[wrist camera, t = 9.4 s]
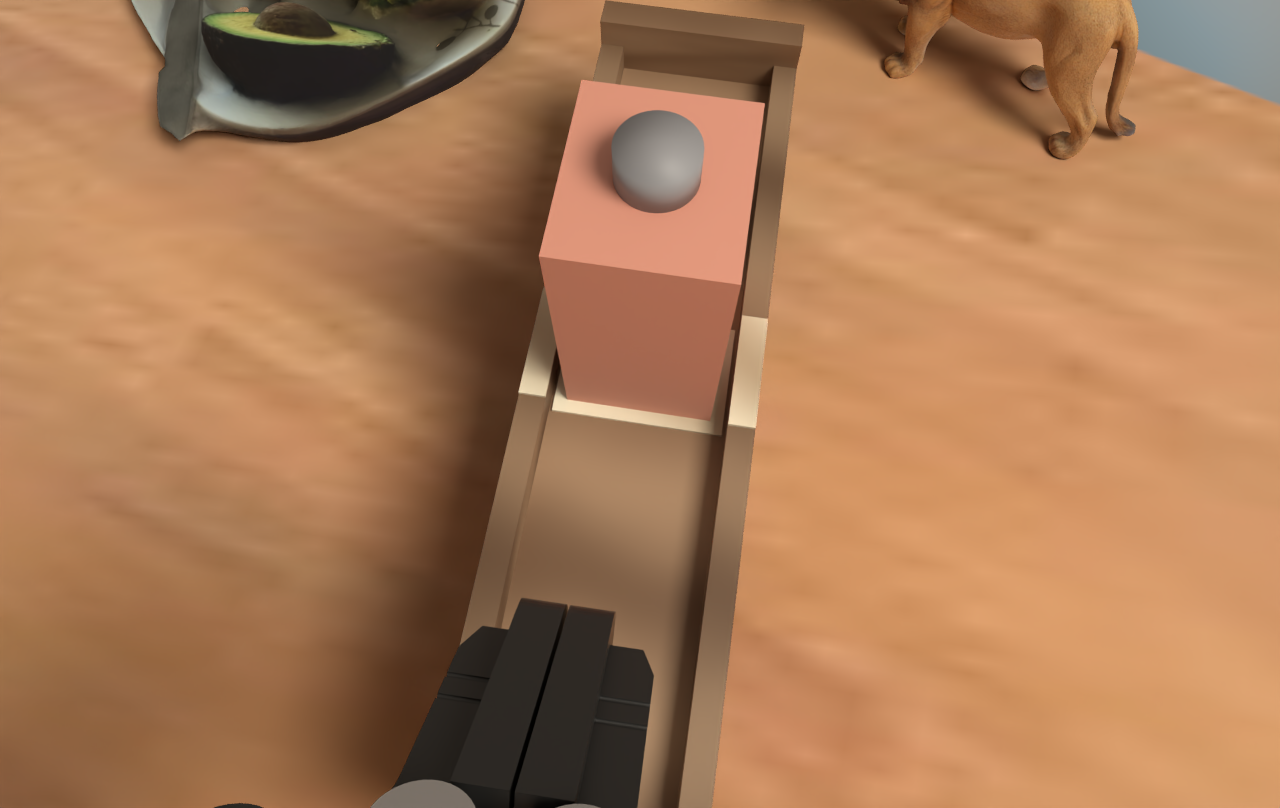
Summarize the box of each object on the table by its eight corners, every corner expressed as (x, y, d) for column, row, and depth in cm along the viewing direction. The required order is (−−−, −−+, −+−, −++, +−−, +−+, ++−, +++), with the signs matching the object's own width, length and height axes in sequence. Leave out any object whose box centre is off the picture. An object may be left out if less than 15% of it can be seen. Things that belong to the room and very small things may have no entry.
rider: (709, 421, 25) (746, 259, 17) (567, 399, 25) (533, 229, 17) (729, 279, 27) (771, 71, 19) (596, 261, 27) (578, 47, 19)
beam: (680, 908, 25) (697, 971, 18) (454, 867, 25) (386, 913, 18) (771, 165, 35) (804, 24, 29) (611, 144, 36) (605, 0, 29)
